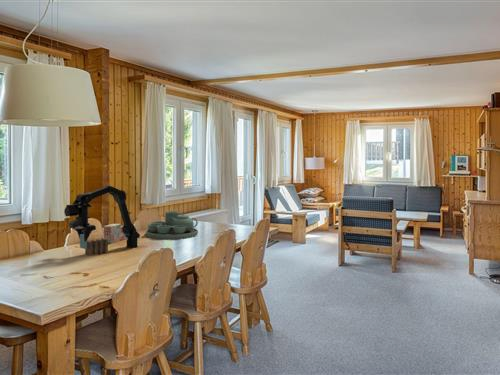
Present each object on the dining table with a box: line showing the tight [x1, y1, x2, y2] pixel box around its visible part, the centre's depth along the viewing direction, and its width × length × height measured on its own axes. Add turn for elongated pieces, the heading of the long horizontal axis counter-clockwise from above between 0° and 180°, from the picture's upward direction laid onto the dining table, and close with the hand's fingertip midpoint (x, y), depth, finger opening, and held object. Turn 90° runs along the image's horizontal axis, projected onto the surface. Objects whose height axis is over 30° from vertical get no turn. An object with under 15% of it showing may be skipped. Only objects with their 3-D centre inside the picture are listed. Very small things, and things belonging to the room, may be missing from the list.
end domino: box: [79, 234, 88, 250], centre depth 260 cm, size 2×5×8 cm, turn 51°
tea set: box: [145, 210, 199, 240], centre depth 336 cm, size 40×40×16 cm
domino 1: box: [84, 240, 93, 256], centre depth 263 cm, size 2×5×8 cm, turn 51°
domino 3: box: [95, 238, 104, 254], centre depth 269 cm, size 2×5×8 cm, turn 51°
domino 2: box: [90, 239, 99, 255], centre depth 266 cm, size 2×5×8 cm, turn 51°
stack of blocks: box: [102, 223, 128, 245], centre depth 307 cm, size 21×6×12 cm, turn 163°
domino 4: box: [100, 238, 109, 253], centre depth 272 cm, size 2×5×8 cm, turn 51°
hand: (83, 240), depth 260 cm, fingers closed on end domino, 5 cm apart
